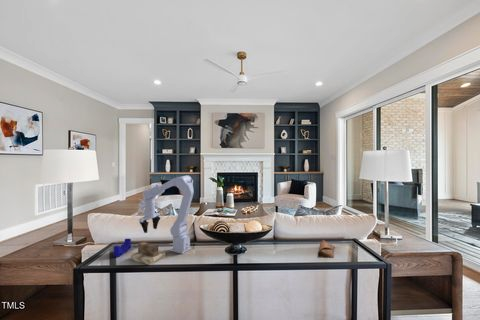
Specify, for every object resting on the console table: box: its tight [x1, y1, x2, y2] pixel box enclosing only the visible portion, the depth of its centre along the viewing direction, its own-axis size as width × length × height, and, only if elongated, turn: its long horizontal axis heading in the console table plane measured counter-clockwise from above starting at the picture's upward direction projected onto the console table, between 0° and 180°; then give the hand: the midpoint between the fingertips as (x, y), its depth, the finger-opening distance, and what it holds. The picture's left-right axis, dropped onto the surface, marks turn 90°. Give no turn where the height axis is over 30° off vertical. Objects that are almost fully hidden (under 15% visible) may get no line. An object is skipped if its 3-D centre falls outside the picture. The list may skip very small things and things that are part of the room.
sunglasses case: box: [318, 239, 336, 259], centre depth 141 cm, size 18×7×7 cm, turn 158°
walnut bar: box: [137, 241, 159, 257], centre depth 132 cm, size 12×3×5 cm, turn 64°
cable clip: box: [113, 238, 132, 258], centre depth 140 cm, size 12×4×6 cm, turn 174°
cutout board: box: [130, 249, 167, 266], centre depth 132 cm, size 14×11×2 cm
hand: (150, 230), depth 149 cm, fingers open, 7 cm apart
